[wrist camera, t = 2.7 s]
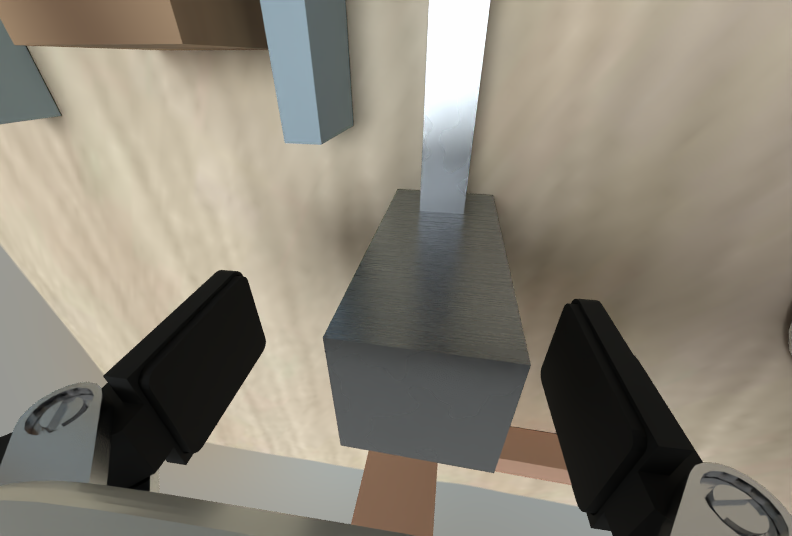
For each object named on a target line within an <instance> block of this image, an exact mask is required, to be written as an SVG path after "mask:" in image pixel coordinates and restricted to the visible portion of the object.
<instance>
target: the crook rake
mask: <svg viewBox="0 0 792 536" xmlns="http://www.w3.org/2000/svg"><path fill="white" fill-rule="evenodd" d="M489 7H490V0H429V18H428V40H427V62H426V84H425V107H424V129H423V151H422V173H421V191H419V190H403V189H398V190H397V192H396V194H395V196H394V198H393V200H392V202H391V204H390V206H389V208H388V210H387V212H386V214H385V215H384V217H383V219H382V221H381V223H380V225H379V227H378V229H377V231H376V233H375V235H374V237H373V239H372V241H371V243H370V245H369V247H368V249H367V251H366V253H365V255H364V257H363V259H362V261H361V263H360V265H359V267H358V269H357V271H356V273H355V275H354V277H353V279H352V281H351V283H350V285H349V287H348V289H347V291H346V293H345V295H344V297H343V299H342V301H341V303H340V305H339V307H338V309H337V311H336V313H335V315H334V317H333V319H332V321H331V322H330V324H329V326H328V328H327V330H326V332H325V334H324V336H323V341H324V347H325V353H326V359H327V365H328V371H329V377H330V383H331V389H332V395H333V401H334V407H335V413H336V419H337V425H338V431H339V437H340V443H341V445H342V446H347V447H353V448H358V449H364V450H369V451H375V452H380V453H386V454H391V455H397V456H402V457H408V458H413V459H419V460H425V461H430V462H436V463H441V464H447V465H452V466H458V467H463V468H469V469H474V470H480V471H485V472H491V473H494V472H495V469H496V466H497V463H498V460H499V457H500V454H501V451H502V449H503V446H504V443H505V440H506V437H507V434H508V431H509V428H510V425H511V422H512V419H513V416H514V413H515V410H516V407H517V404H518V401H519V398H520V395H521V392H522V389H523V387H524V384H525V381H526V378H527V375H528V372H529V369H530V366H531V364H530V360H529V355H528V351H527V346H526V342H525V337H524V333H523V328H522V324H521V319H520V315H519V310H518V306H517V301H516V297H515V292H514V288H513V283H512V279H511V274H510V270H509V265H508V261H507V256H506V252H505V247H504V243H503V238H502V234H501V229H500V225H499V220H498V216H497V211H496V207H495V202H494V198H493V195H485V194H469V193H466V191H467V183H468V175H469V167H470V159H471V151H472V143H473V135H474V127H475V119H476V111H477V103H478V95H479V87H480V79H481V71H482V63H483V55H484V47H485V39H486V31H487V23H488V15H489Z"/></svg>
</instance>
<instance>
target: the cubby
mask: <svg viewBox="0 0 792 536" xmlns="http://www.w3.org/2000/svg"><path fill="white" fill-rule="evenodd" d="M260 4H261V10H262V15H263V21H264V27H265V32H266V38H267V44H268V50H269V55H270V61H271V67H272V72H273V78H274V84H275V89H276V95H277V101H278V106H279V112H280V118H281V123H282V129H283V135H284V141H285V143H297V144H320V145H321V144H323V143H325V142H327V141H328V140H330V139H332V138H333V137H335V136H337V135H338V134H340V133H342V132H343V131H345V130H347V129H348V128H350V127H352V126H353V111H352V95H351V80H350V64H349V49H348V33H347V18H346V2H345V0H260ZM56 116H61V114H60V112H59V110H58V108H57V106H56V105H55V103H54V101H53V99H52V97H51V95H50V93H49V91H48V89H47V87H46V85H45V83H44V81H43V79H42V77H41V75H40V73H39V71H38V69H37V67H36V65H35V63H34V62H33V60H32V58H31V56H30V54H29V52H28V50H27V48H26V46H24V45H14V44H13V42H12V40H11V38H10V36H9V34H8V32H7V30H6V28H5V27H4V25H3V23H2V21H1V19H0V124H6V123H13V122H20V121H27V120H34V119H42V118H49V117H56Z"/></svg>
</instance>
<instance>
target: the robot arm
mask: <svg viewBox="0 0 792 536" xmlns="http://www.w3.org/2000/svg"><path fill="white" fill-rule="evenodd" d="M265 344H266V339H265V336H264V332H263V329H262V326H261V322H260V319H259V316H258V313H257V309H256V306H255V303H254V299H253V296H252V293H251V289H250V286H249V283H248V280H247V278H246V277H243V275H242V274H241V273H240V272H238V271H227V270H219V271H217V272H216V273H215V274H214V275H213V276H212V277H210V278H209V279H208V280H207V281H206V282H205V283H204V284H203V285H202V286H201V287H200V288H198V289H197V290H196V291H195V292H194V293H193V294H192V295H191V296H190V297H189V298H188V299H186V300H185V301H184V302H183V303H182V304H181V305H180V306H179V307H178V308H177V309H176V310H174V311H173V312H172V313H171V314H170V315H169V316H168V317H167V318H166V319H165V320H164V321H162V322H161V323H160V324H159V325H158V326H157V327H156V328H155V329H154V330H153V331H152V332H150V333H149V334H148V335H147V336H146V337H145V338H144V339H143V340H142V341H141V342H140V343H138V344H137V345H136V346H135V347H134V348H133V349H132V350H131V351H130V352H129V353H128V354H126V355H125V356H124V357H123V358H122V359H121V360H120V361H119V362H118V363H117V364H116V365H115V366H113V367H112V368H111V369H110V370H109V371H108V372H107V373H106V374H105V375H104V378H105V379H106V381H107V382H108V383H107V384H106V385H105V386H104V387H103V388H101V387H100V386H99V385H98V384H96V383H91V382H83V383H76V384H72V385H68V386H66V387H64V388H61V389H58V390H56V391H54V392H52V393H51V394H49V395H47V396H45V397H43V398H42V399H40V400H39V401H38V402H37V403H35V404H34V405H32V406H31V407H30V408H29V409H28V410H27V411H26V412H25V413H24V414H23V415H22V416H21V417H20V419H19V420H18V422H17V424H16V426H15V428H14V430H13V432H12V433H9V434H7V435H5V436H2V437H0V536H416V535H410V534H404V533H398V532H392V531H386V530H380V529H374V528H369V527H363V526H357V525H351V524H344V523H338V522H333V521H326V520H321V519H315V518H309V517H302V516H297V515H291V514H285V513H279V512H273V511H267V510H261V509H255V508H248V507H242V506H236V505H230V504H223V503H217V502H212V501H205V500H199V499H193V498H187V497H181V496H175V495H168V494H162V493H159V467H160V466H161V465H162V463H163V462H164V461H165V460H166V461H167V462H170V463H177V464H183V465H186V464H187V463H188V461H189V460H190V458H191V457H192V455H193V454H194V453H196V452H198V451H199V450H200V449H201V448H202V447H203V445H204V444H205V442H206V441H207V439H208V437H209V436H210V434H211V433H212V431H213V429H214V428H215V426H216V425H217V423H218V422H219V420H220V418H221V417H222V415H223V414H224V412H225V411H226V409H227V407H228V406H229V404H230V403H231V401H232V400H233V398H234V396H235V395H236V393H237V392H238V390H239V388H240V387H241V385H242V384H243V382H244V381H245V379H246V377H247V376H248V374H249V373H250V371H251V370H252V368H253V366H254V365H255V363H256V362H257V360H258V358H259V357H260V355H261V354H262V352H263V350H264V348H265ZM789 351H790V353H791V355H792V323H791V325H790V328H789ZM541 381H542V385H543V388H544V392H545V395H546V399H547V402H548V406H549V409H550V412H551V416H552V419H553V423H554V426H555V430H556V433H557V436H558V440H559V443H560V447H561V450H562V454H563V457H564V461H565V464H566V467H567V471H568V474H569V478H570V481H571V485H572V488H573V492H574V495H575V498H576V502H577V504H578V507H579V509H580V510H581V511H582V512H586V513H587V516H588V520H589V523H590V526H591V528H594V529H601V530H608V531H611V532H612V535H613V536H792V516H791V514H790V513H789V512H788V511H787V510H786V508H785V507H784V506H783V505H782V504H781V502H780V501H779V500H778V499H777V498H776V497H774V496H773V495H772V494H771V493H770V492H769V491H768V490H767V489H766V488H765V487H763V486H762V485H760V484H759V483H757V482H756V481H755V480H753V479H752V478H750V477H749V476H747V475H745V474H743V473H741V472H739V471H737V470H735V469H733V468H731V467H728V466H725V465H722V464H718V463H709V462H702V460H701V458H700V457H699V455H698V454H697V452H696V451H695V449H694V447H693V446H692V444H691V443H690V441H689V439H688V438H687V436H686V435H685V433H684V432H683V430H682V428H681V427H680V425H679V424H678V422H677V421H676V419H675V417H674V416H673V414H672V413H671V411H670V409H669V408H668V406H667V405H666V403H665V402H664V400H663V398H662V397H661V395H660V394H659V392H658V391H657V389H656V387H655V386H654V384H653V383H652V381H651V379H650V378H649V376H648V375H647V373H646V372H645V370H644V368H643V367H642V365H641V364H640V362H639V360H638V359H637V358H636V357H635V356H634V355H633V353H632V352H631V350H630V349H629V347H628V345H627V344H626V342H625V341H624V339H623V337H622V336H621V334H620V333H619V331H618V329H617V328H616V326H615V325H614V323H613V321H612V320H611V318H610V317H609V315H608V314H607V312H606V310H605V309H604V307H603V306H602V304H601V303H600V302H599V301H597V300H585V299H574V300H573V301H572V302H571V304H569V303H567V304H566V305H565V306H564V308H563V311H562V314H561V316H560V319H559V322H558V324H557V327H556V330H555V333H554V335H553V338H552V341H551V343H550V346H549V349H548V352H547V354H546V357H545V360H544V362H543V365H542V368H541Z"/></svg>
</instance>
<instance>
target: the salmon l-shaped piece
mask: <svg viewBox="0 0 792 536" xmlns="http://www.w3.org/2000/svg"><path fill="white" fill-rule="evenodd" d="M495 471H496V472H502V473H507V474H513V475H518V476H524V477H529V478H535V479H540V480H546V481H552V482H557V483H563V484H568V485H571V481H570V478H569V474H568V471H567V467H566V464H565V461H564V457H563V454H562V450H561V447H560V443H559V440H558V436H557V434H553V433H546V432H540V431H534V430H528V429H521V428H515V427H510V428H509V431H508V434H507V437H506V440H505V443H504V446H503V449H502V451H501V454H500V457H499V460H498V463H497V466H496V469H495ZM436 479H437V463H436V462H430V461H425V460H419V459H413V458H408V457H402V456H397V455H391V454H386V453H380V452H375V451H369V452H368V456H367V460H366V465H365V469H364V473H363V477H362V481H361V486H360V489H359V494H358V498H357V502H356V506H355V510H354V514H353V519H352V523H351V525H357V526H363V527H369V528H374V529H380V530H386V531H392V532H398V533H404V534H410V535H416V536H433V526H434V509H435V494H436Z"/></svg>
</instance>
